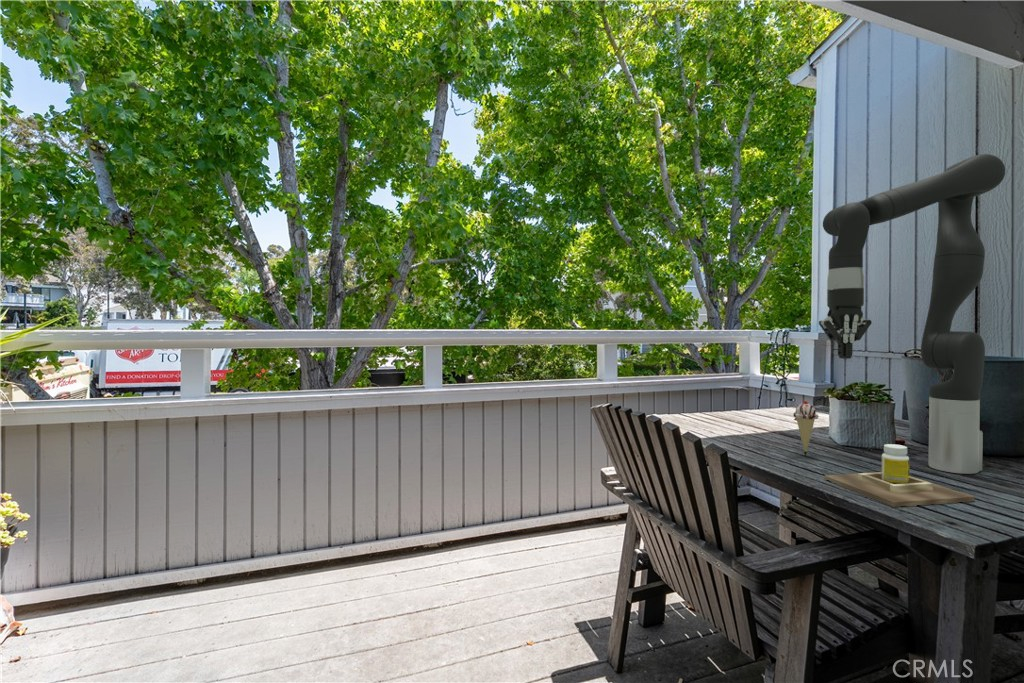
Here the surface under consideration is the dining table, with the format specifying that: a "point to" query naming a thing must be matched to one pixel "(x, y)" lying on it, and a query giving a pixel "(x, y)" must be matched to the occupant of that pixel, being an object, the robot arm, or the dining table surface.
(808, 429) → the ice cream cone
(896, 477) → the supplement bottle
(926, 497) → the socket board
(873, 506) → the dining table surface
